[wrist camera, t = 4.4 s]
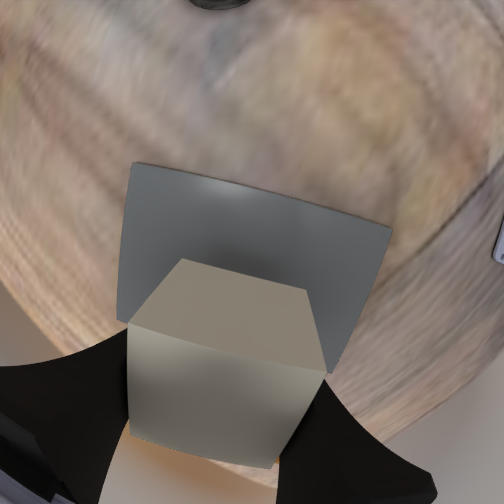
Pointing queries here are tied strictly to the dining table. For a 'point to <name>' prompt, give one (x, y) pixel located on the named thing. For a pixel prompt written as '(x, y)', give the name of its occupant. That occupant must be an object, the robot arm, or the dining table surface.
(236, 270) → the board
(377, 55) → the dining table surface
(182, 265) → the block
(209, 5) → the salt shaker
